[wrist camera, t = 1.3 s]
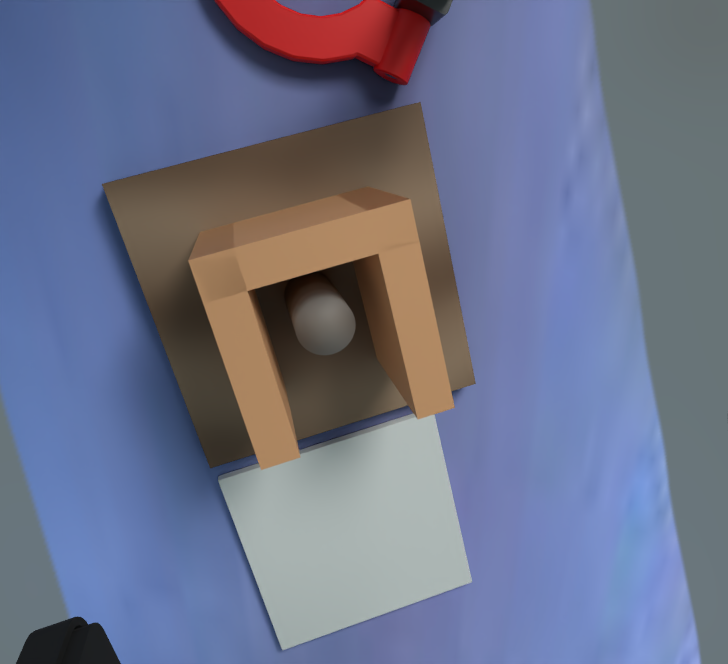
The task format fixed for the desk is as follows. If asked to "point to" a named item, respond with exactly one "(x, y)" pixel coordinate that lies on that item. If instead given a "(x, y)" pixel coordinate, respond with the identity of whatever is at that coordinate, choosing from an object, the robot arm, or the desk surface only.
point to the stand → (296, 295)
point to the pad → (350, 528)
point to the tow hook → (342, 32)
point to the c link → (310, 254)
